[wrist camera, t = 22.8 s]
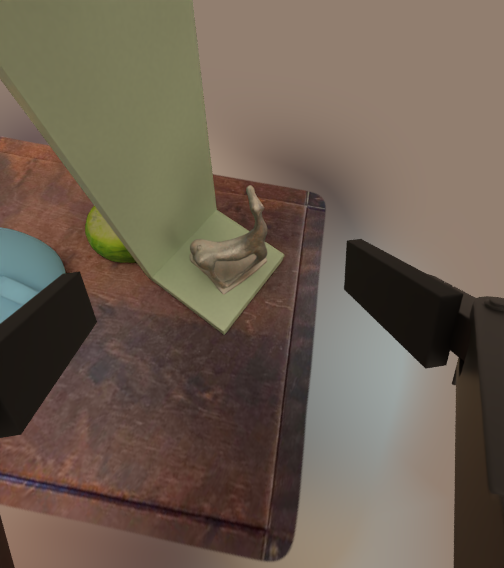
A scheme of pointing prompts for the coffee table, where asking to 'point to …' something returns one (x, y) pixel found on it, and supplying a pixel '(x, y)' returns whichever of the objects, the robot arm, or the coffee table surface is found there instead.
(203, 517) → the coffee table surface
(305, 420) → the coffee table surface
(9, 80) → the rack
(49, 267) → the teapot
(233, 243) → the figurine
